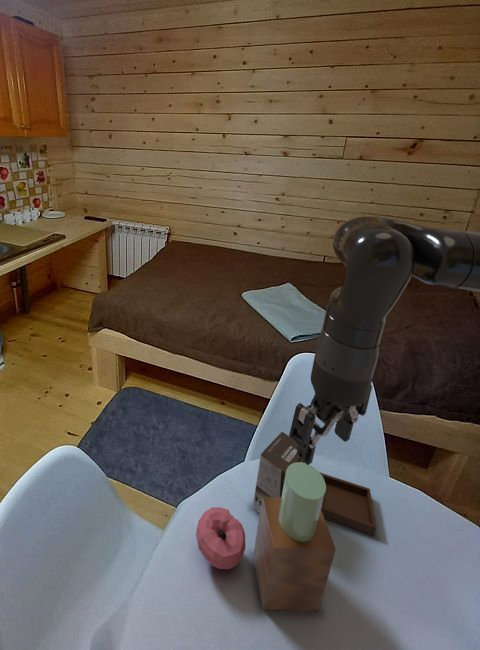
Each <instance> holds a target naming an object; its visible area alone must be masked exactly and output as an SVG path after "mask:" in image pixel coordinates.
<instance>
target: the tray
mask: <svg viewBox="0 0 480 650" xmlns="http://www.w3.org/2000/svg"><path fill="white" fill-rule="evenodd" d="M318 472H319V473H320V474H321V475H322V477H323V478H324V481H325V484H326V492H325V496H324V500H323V504H322V508H321V511H322V514H323V516H324V519H325V520H328V521H331V522H334V523H337V524H339V525H341V526H344V527H347V528H351V529H353V530H355V531H358V532H361V533H364V534H366V535H370V536H372V537H374V536H375V534H376V531H377V523H376V517H375V511H374V505H373V500H372V493H371V488H369V487H366V486H363V485H360V484H358V483H357V484H356V483H354V482H351V481H348V480H345V479H341V478H339V477H335V476H332V475H329V474H326V473H323V472H321V471H318Z"/></svg>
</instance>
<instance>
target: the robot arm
mask: <svg viewBox="0 0 480 650" xmlns="http://www.w3.org/2000/svg"><path fill="white" fill-rule="evenodd" d="M332 248H333V251H334V254H335V255H336V257H337V258H338V260H339V262H341V264H342V265H343V266H344V267H345V276H344V281H343V283H342V285H341V286H340V287H337V288H336V289H334V290H333V291H332V292H331V294H330V296H329V297H328V300H327V304H326V309H325V313H324V318H323V323H322V327H321V331H320V333H319V335H318V339H317V343H316V349H315V353H314V357H313V358H314V359H313V363H312V368H311V373H310V383H311V385H312V388H313V391H314V395H313V398H312V399H311V401H310V404H309V405H306V406H305V405H304V404H303V403H302V402H299V403H297V405H296V406H295V408H294V413H293V417H292V420H291V421H292V422H291V426H290V430H289V432H288V433H289V434H288V436H289V437H290V438H291V439H292V440H293V441H294V442H295V443H296V444H297V445H298V449H297V455H298V457H299V458H300V459H301V460H302V461H303V462H304V463H305V464H307V465H311V464H312V463H313V460H314V457H315V451H316V447H317V444H318V443H319V440H320V439H321V438H322V437H327V436H328V434H329V432H330V431H331V430H332V428H333V426H335V427H334V434H335V435H336V436H337V437H338V438H339V439H341V440H342V441H343V442H345V443H346V442H348V441H350V439H351V434H352V431H353V427H354V424H356V423H357V422H358V421H359V415H360V416H361V417H363V416H365V415H366V413H367V410H368V405H369V402H370V397H371V393H372V389H373V385H372V382H373V379H374V376H375V373H376V372H375V371H376V368H377V364H378V362H379V357H380V346H381V342H382V337H383V334H384V331H385V327H386V323H387V317H388V315H389V314H390V312H391V311H392V309H393V308H394V307H395V305H396V304H397V302H398V301H399V299H400V297H401V296H402V295H403V293H404V291H405V290H406V288H407V286H408V284H409V282H410V281H411V279H412V277H413V278H414V279H416V280H418V281H420V282H422V283H424V284H427V285H429V286H433V287H438V288H443V289H451V290H456V291H457V290H458V291H466V292H473V293H480V232H475V231H467V230H457V229H456V230H455V229H441V228H432V227H428V226H424V225H419V224H415V223H410V222H405V221H401V220H396V219H393V218H392V219H391V218H387V217H381V216H366V215H365V216H357V217H353V218H349V219H348V220H346V221H345V222H343V223H342V224H341V225H340V226H338V228H337V229H336V230H335V232H334V235H333V236H332ZM316 418H317V419H318V420H319V421H321V423H323V426H321V425H320V424H318V422H317V421H316ZM313 430H314V433H313ZM312 434H313V435H312Z"/></svg>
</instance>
